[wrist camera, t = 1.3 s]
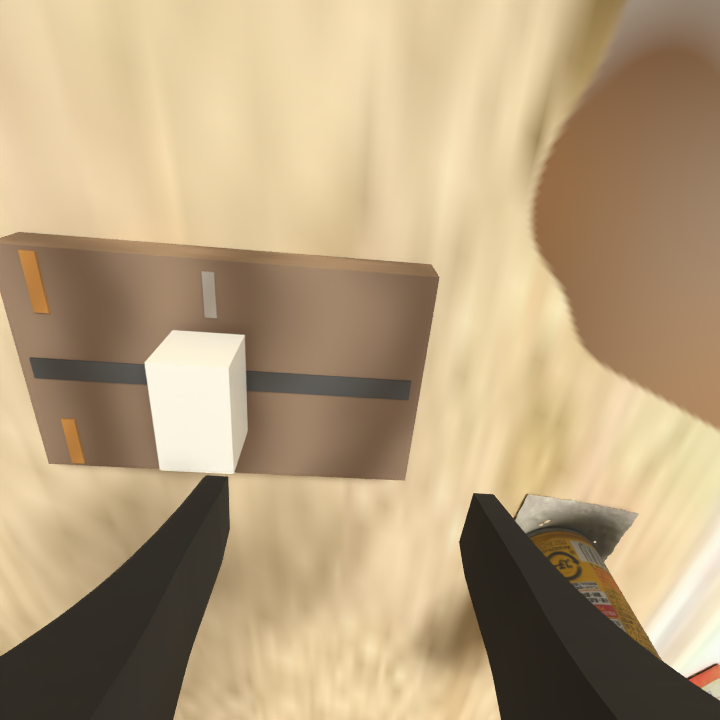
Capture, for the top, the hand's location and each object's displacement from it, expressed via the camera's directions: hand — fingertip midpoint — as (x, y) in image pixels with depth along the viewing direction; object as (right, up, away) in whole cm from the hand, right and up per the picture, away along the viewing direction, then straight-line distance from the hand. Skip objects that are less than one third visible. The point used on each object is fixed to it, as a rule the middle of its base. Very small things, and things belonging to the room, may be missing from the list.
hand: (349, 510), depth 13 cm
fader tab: (-6, +3, +7) cm, 10 cm away
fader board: (-6, +4, +9) cm, 12 cm away
